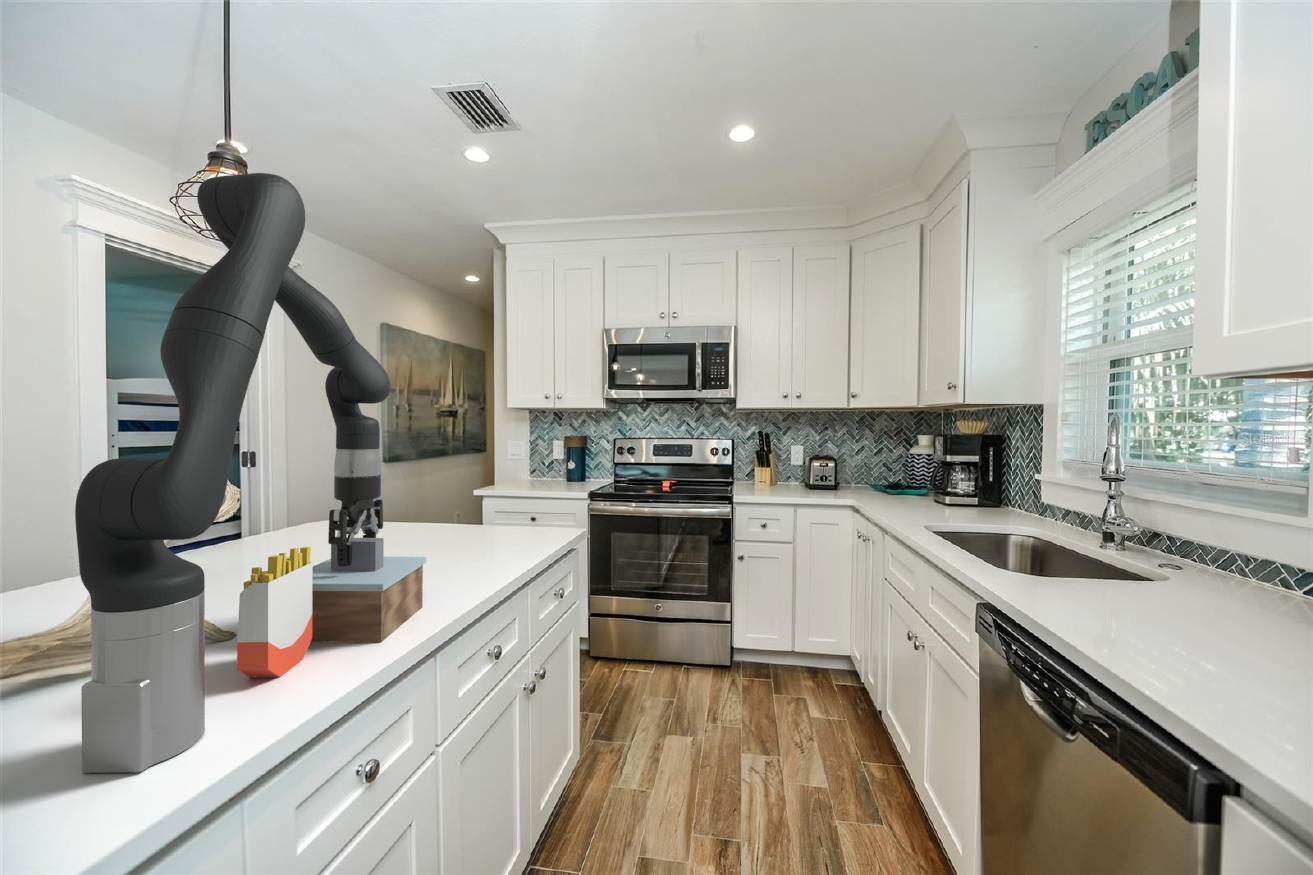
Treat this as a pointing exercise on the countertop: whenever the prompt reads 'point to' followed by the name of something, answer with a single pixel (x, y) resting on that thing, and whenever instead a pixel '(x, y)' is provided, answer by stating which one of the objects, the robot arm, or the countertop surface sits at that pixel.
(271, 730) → the countertop surface
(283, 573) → the french fries container
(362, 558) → the lid
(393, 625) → the wooden box
